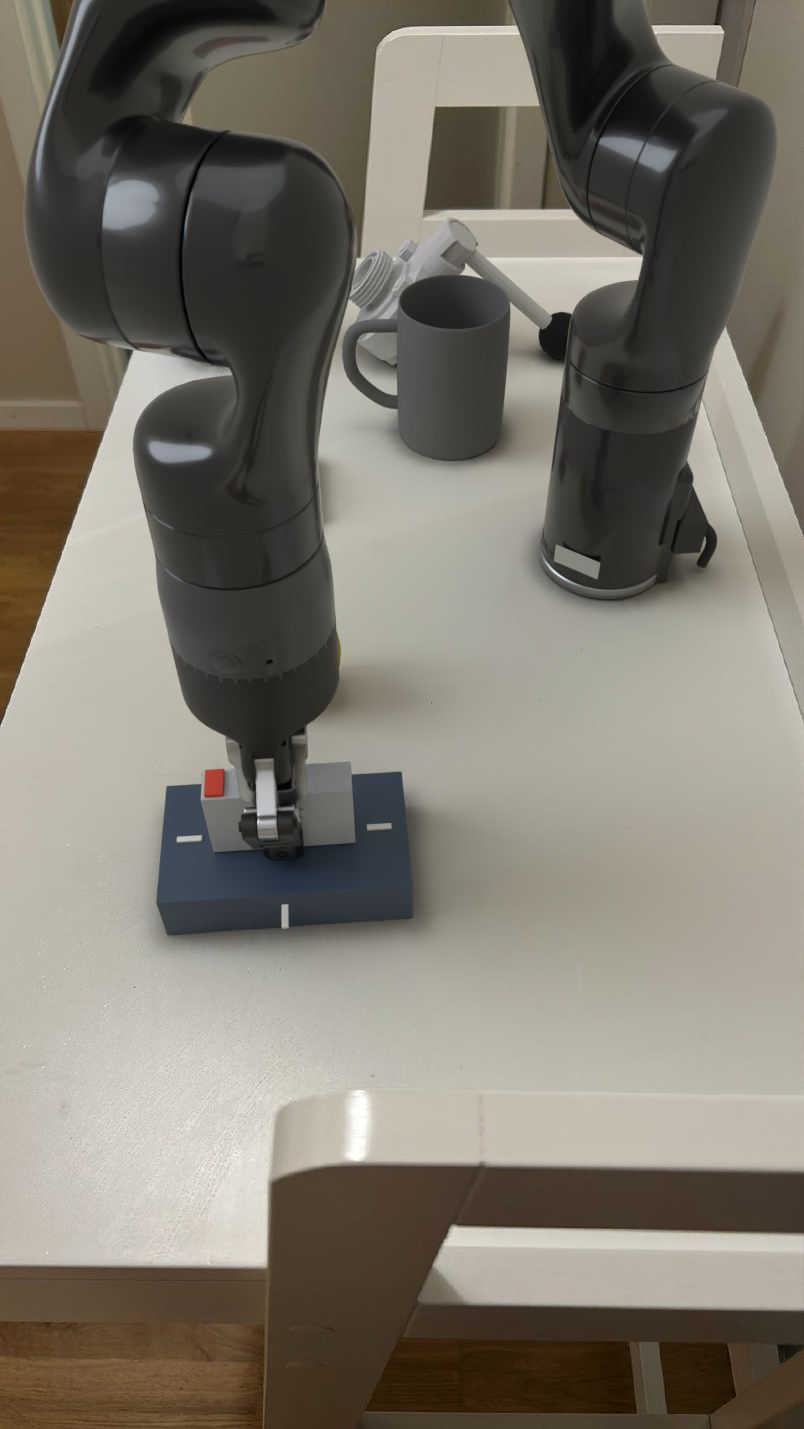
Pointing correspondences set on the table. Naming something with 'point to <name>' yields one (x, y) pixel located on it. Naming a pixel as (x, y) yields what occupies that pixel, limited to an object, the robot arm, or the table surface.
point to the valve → (438, 255)
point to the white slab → (322, 805)
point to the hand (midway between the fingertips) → (284, 832)
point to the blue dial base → (286, 869)
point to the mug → (444, 364)
